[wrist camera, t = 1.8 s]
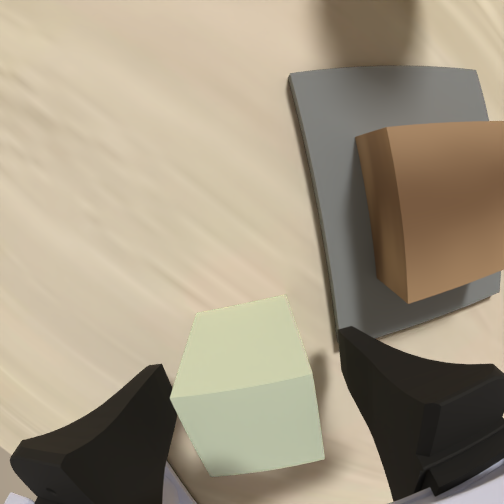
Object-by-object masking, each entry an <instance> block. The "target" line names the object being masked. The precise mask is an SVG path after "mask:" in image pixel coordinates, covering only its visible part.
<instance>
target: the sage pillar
mask: <svg viewBox="0 0 504 504" xmlns="http://www.w3.org/2000/svg"><path fill="white" fill-rule="evenodd" d="M170 400H171V402H172V404H173V406H174V408H175V410H176V412H177V415H178V417H179V419H180V421H181V423H182V425H183V427H184V429H185V431H186V433H187V434H188V436H189V438H190V440H191V442H192V444H193V446H194V448H195V450H196V451H197V453H198V455H199V457H200V459H201V461H202V462H203V464H204V466H205V468H206V469H207V471H208V473H209V475H210V476H211V477H219V476H230V475H239V474H248V473H255V472H262V471H269V470H275V469H281V468H286V467H292V466H297V465H302V464H306V463H311V462H315V461H320V460H324V459H325V456H324V448H323V441H322V433H321V426H320V419H319V412H318V405H317V399H316V392H315V385H314V379H313V373H312V370H311V367H310V364H309V361H308V358H307V355H306V352H305V349H304V346H303V343H302V340H301V337H300V335H299V332H298V329H297V326H296V323H295V320H294V317H293V314H292V311H291V308H290V305H289V302H288V299H287V297H286V294H285V295H280V296H276V297H271V298H267V299H262V300H257V301H253V302H248V303H243V304H238V305H234V306H229V307H224V308H219V309H214V310H209V311H204V312H198V313H197V314H196V317H195V320H194V323H193V326H192V329H191V332H190V335H189V338H188V341H187V344H186V348H185V351H184V354H183V357H182V360H181V363H180V366H179V370H178V373H177V376H176V379H175V383H174V386H173V389H172V392H171V396H170Z"/></svg>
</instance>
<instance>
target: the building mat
mask: <svg viewBox="0 0 504 504" xmlns="http://www.w3.org/2000/svg"><path fill="white" fill-rule="evenodd" d="M288 80H289V83H290V87H291V91H292V95H293V99H294V103H295V107H296V111H297V115H298V119H299V123H300V128H301V132H302V136H303V141H304V145H305V150H306V154H307V159H308V163H309V168H310V173H311V178H312V183H313V188H314V193H315V198H316V203H317V208H318V214H319V219H320V225H321V230H322V236H323V242H324V248H325V254H326V260H327V267H328V273H329V280H330V287H331V294H332V301H333V308H334V316H335V324H336V332H337V330H338V329H342V328H346V327H349V326H353V327H355V328H357V329H359V330H360V331H362V332H364V333H366V334H367V335H369V336H371V337H373V338H377V337H381V336H384V335H387V334H390V333H393V332H396V331H400V330H403V329H406V328H409V327H412V326H414V325H417V324H420V323H423V322H426V321H429V320H432V319H434V318H437V317H440V316H442V315H445V314H448V313H450V312H453V311H455V310H458V309H461V308H463V307H466V306H468V305H470V304H473V303H475V302H478V301H480V300H482V299H485V298H487V297H489V296H492V295H494V294H496V293H499V292H500V277H501V271H499V272H496V273H494V274H491V275H489V276H486V277H484V278H481V279H478V280H476V281H473V282H470V283H468V284H465V285H462V286H460V287H457V288H454V289H451V290H448V291H446V292H443V293H440V294H437V295H434V296H431V297H428V298H425V299H422V300H419V301H416V302H413V303H410V304H407V303H406V302H405V301H404V300H403V299H402V298H400V297H399V296H398V295H397V294H396V293H394V292H393V291H392V290H391V289H390V288H388V287H387V286H386V285H385V284H383V283H382V282H381V281H380V280H379V279H377V276H376V266H375V256H374V247H373V239H372V231H371V224H370V217H369V210H368V204H367V198H366V192H365V186H364V180H363V175H362V169H361V164H360V159H359V154H358V149H357V144H356V140H355V137H356V136H359V135H362V134H366V133H369V132H372V131H375V130H378V129H382V128H385V127H392V126H403V125H415V124H428V123H445V122H472V121H489V118H488V114H487V109H486V105H485V101H484V97H483V93H482V89H481V86H480V82H479V78H478V75H477V72H476V70H471V69H461V68H449V67H433V66H363V67H346V68H333V69H322V70H313V71H304V72H296V73H290V75H289V77H288ZM337 341H338V332H337ZM338 343H339V341H338Z"/></svg>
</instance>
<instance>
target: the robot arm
mask: <svg viewBox="0 0 504 504" xmlns="http://www.w3.org/2000/svg"><path fill="white" fill-rule="evenodd" d="M337 332H338V341H339V350H340V360H341V370H342V373H343V376H344V379H345V381H346V384H347V387H348V389H349V391H350V393H351V395H352V397H353V399H354V401H355V403H356V405H357V407H358V408H359V410H360V412H361V414H362V416H363V418H364V420H365V422H366V424H367V425H368V427H369V429H370V432H371V434H372V436H373V439H374V442H375V444H376V447H377V450H378V453H379V455H380V458H381V461H382V464H383V467H384V470H385V474H386V477H387V480H388V483H389V487H390V490H391V494H392V498H393V501H394V502H392V503H389V504H504V418H503V417H502V416H503V413H504V373H503V372H502V371H500V370H499V369H498V368H497V367H496V366H495V365H494V364H454V363H445V362H439V361H434V360H429V359H425V358H421V357H418V356H414V355H411V354H408V353H405V352H403V351H400V350H398V349H395V348H393V347H391V346H389V345H386V344H384V343H382V342H380V341H378V340H376V339H375V338H373V337H371V336H369V335H367V334H366V333H364V332H362V331H360V330H359V329H357V328H355V327H353V326H349V327H346V328H342V329H338V330H337ZM171 392H172V386H171V384H170V382H169V379H168V377H167V375H166V372H165V370H164V368H163V365H162V364H156V365H149V366H147V367H146V368H145V369H143V370H142V371H141V372H140V373H139V374H137V375H136V376H135V377H134V378H133V379H132V380H131V381H130V382H129V383H127V384H126V385H125V386H124V387H123V388H122V389H121V390H119V391H118V392H117V393H116V394H115V395H113V396H112V397H111V398H110V399H108V400H107V401H106V402H105V403H103V404H102V405H101V406H99V407H98V408H97V409H95V410H94V411H92V412H90V413H89V414H87V415H86V416H84V417H82V418H80V419H79V420H77V421H75V422H73V423H71V424H69V425H67V426H65V427H63V428H60V429H58V430H55V431H53V432H50V433H47V434H44V435H41V436H37V437H34V438H30V439H26V440H22V441H21V443H20V444H19V446H18V447H17V449H16V450H15V452H14V453H13V455H12V456H11V458H10V463H11V466H12V468H13V470H14V471H15V473H16V474H17V475H18V477H19V478H20V479H21V480H22V481H23V482H24V483H25V484H26V485H27V486H28V487H29V488H30V490H31V491H33V493H34V494H35V495H36V496H38V497H37V499H36V501H35V502H34V501H33V500H31V499H29V498H27V497H24V496H21V495H19V494H16V493H13V492H11V493H10V494H9V496H8V497H7V499H6V501H5V503H4V504H197V503H196V502H195V500H194V499H193V498H192V496H191V495H190V494H189V492H188V491H187V489H186V488H185V487H184V485H183V484H182V482H181V481H180V480H179V478H178V477H177V475H176V474H175V472H174V471H173V469H172V468H171V466H170V465H169V463H168V462H167V456H168V452H169V448H170V444H171V440H172V436H173V432H174V428H175V424H176V418H177V412H176V410H175V408H174V406H173V404H172V402H171V400H170V396H171Z"/></svg>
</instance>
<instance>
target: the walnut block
mask: <svg viewBox="0 0 504 504" xmlns="http://www.w3.org/2000/svg"><path fill="white" fill-rule="evenodd" d="M355 140H356V144H357V149H358V154H359V159H360V164H361V169H362V175H363V180H364V186H365V192H366V198H367V204H368V210H369V217H370V224H371V231H372V239H373V247H374V256H375V266H376V276H377V279H379V280H380V281H381V282H382V283H383V284H385V285H386V286H387V287H388V288H390V289H391V290H392V291H393V292H394V293H396V294H397V295H398V296H399V297H400V298H402V299H403V300H404V301H405V302H406V303H407V304H410V303H413V302H416V301H419V300H422V299H425V298H428V297H431V296H434V295H437V294H440V293H443V292H446V291H448V290H451V289H454V288H457V287H460V286H462V285H465V284H468V283H470V282H473V281H476V280H478V279H481V278H484V277H486V276H489V275H491V274H494V273H496V272H499V271H501V270H504V121H472V122H445V123H428V124H415V125H403V126H392V127H385V128H382V129H378V130H375V131H372V132H369V133H366V134H362V135H359V136H356V137H355Z"/></svg>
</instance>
